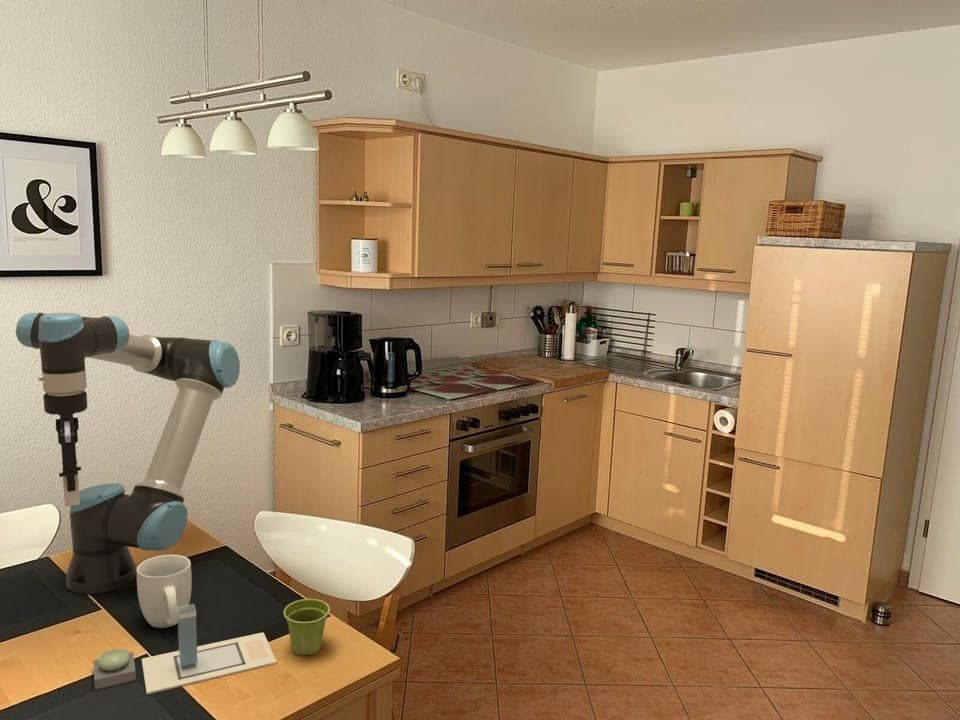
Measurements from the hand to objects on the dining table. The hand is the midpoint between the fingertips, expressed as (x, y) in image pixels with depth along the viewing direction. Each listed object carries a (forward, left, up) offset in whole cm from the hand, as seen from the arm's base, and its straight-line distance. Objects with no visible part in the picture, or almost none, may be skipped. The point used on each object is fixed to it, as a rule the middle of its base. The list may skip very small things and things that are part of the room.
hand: (72, 504), depth 152 cm
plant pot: (+24, +42, -30) cm, 56 cm away
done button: (+18, +6, -29) cm, 35 cm away
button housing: (+18, +6, -29) cm, 35 cm away
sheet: (+21, +23, -29) cm, 43 cm away
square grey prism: (+21, +19, -29) cm, 40 cm away
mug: (+2, +17, -30) cm, 34 cm away
